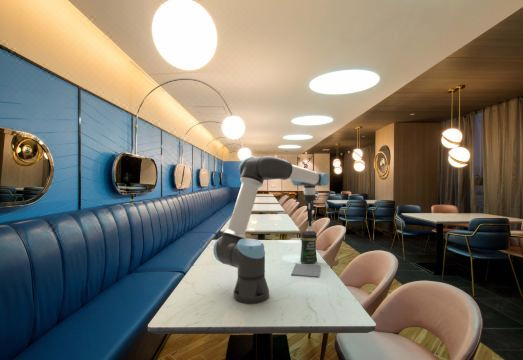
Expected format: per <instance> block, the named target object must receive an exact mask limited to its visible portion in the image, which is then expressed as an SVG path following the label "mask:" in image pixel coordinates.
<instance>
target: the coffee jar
mask: <svg viewBox="0 0 523 360" xmlns="http://www.w3.org/2000/svg"><path fill="white" fill-rule="evenodd" d="M300 240H301V246H300V248H301V250H300V262H301V264H311V265H312V264H317V263H318V257H317V256H318V255H317V248H316V247H317V246H316V245H317V244H316V243H317V240H318V236H317V232H316V231H314V230H313V231H308V230H303V231H301V232H300Z"/></svg>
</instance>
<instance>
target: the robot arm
mask: <svg viewBox="0 0 523 360" xmlns="http://www.w3.org/2000/svg"><path fill="white" fill-rule="evenodd" d="M238 175H239V177H240V178H239V180H240V182H241V185H240V187H239V188H240V189H239V192H238V194H237V198H236V200H235V201H236V202H235V204H234V207H233V208H234V209H233V211H232V213H231V214H232V215H231V218H230V221H229V224H228V227H227V230H225V231H223V233H222V235H221V237H219V238H218V239H216V241H215V242H214V245H213V249H212V250H213V255H214V257H215V259H216V260H217V261H218V262H220V263H221V264H222V265H228V266H231V267H233V268H237V280H236V283H235V286H234V289H233V298H234V299H235V300H236V301H237V302H240V303H243V304H257V303H262V302H265V301H267V300H268V298H269V297H270V288H269V286H268V282H267V279H266V274H265V273H266V271H265V270H266V268H265V267H266V265H265V264H266V251H265V245H264V243H263V242H262V241H261V240H259V239H255V238H247V236H246V231H247V228H248V225H249V222H250V218H251V215H252V211H253V208H254V205H255V201H256V198H257V194H258V190H259V188H261V187H262V186H263V183H264V181H266V180H267V181H269V180H282V181H283V180H284V181H286V180H291V181H290V182H291V183H292V185H293V186H296V187H302V186H303V201H305V202H306V201H307V203H306V210H307V220H306V222H307V231H314V230H313V221H314V219H313V211H314V210H313V209H314V203H313V201H314V202H315V201H317V199H316V198H317V196H316V191H317V189H316V187H317V186H318V187H326V186H328V185H329V183H330V176H329V174H328V173H327V172H318V171H315V170H314V169H313V170H311V169H307V168H304V167H301V166H299V165H294V164H292V163H291V162H290V161H289V160H286V159H283V158H279V157H276V156H271V155H265V156H264V155H263V156H251V157H246V158H245V159H243V160H242V161H241V162H240V164H239V166H238Z"/></svg>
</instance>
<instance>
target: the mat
mask: <svg viewBox="0 0 523 360" xmlns="http://www.w3.org/2000/svg"><path fill="white" fill-rule="evenodd" d="M320 273H321V264H312V263H311V264H305V263H295V264H294V267H293V270H291V274H290V275H291V276H297V277H309V278H320V277H319V276H320Z"/></svg>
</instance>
